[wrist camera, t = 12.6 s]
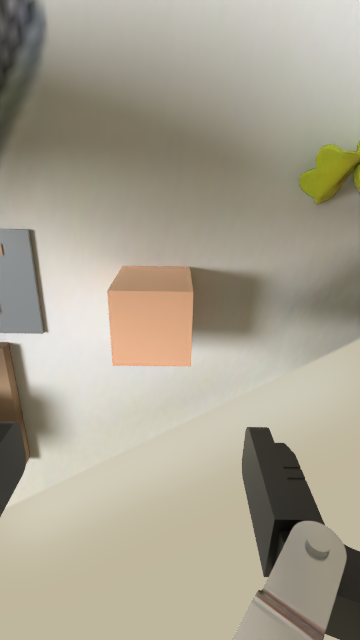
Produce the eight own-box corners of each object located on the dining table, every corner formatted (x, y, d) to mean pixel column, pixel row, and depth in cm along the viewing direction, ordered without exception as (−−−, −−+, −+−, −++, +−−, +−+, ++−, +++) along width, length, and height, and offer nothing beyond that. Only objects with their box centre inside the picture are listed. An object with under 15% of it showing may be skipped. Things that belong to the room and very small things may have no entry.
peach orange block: (122, 265, 25) (107, 290, 20) (189, 266, 26) (193, 291, 20) (125, 327, 27) (112, 365, 22) (188, 328, 27) (191, 366, 22)
